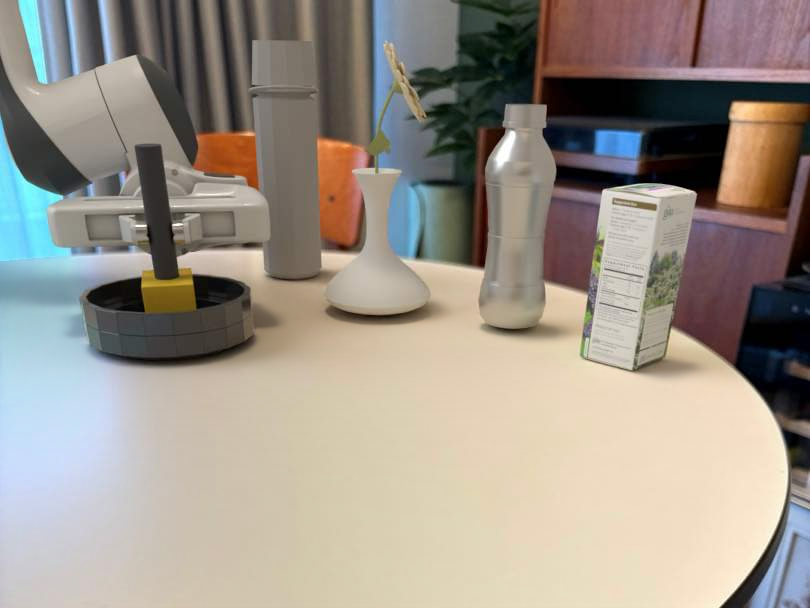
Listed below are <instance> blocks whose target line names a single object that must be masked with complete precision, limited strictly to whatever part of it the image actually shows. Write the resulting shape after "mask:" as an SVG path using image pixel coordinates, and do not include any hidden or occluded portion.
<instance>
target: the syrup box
mask: <svg viewBox="0 0 810 608" xmlns="http://www.w3.org/2000/svg"><path fill="white" fill-rule="evenodd" d="M697 196H698V193H696V191H694V190H691V189H689V188H688V189H687V188H684V187H680V186H676V185H671V184H663V183H636V184H629V185H622V186H615V187H609V188H604V189H603V190H602V191H601V196H600V197H601V198H600V205H599V210H598V211H599V213H598V219H597V225H596V226H597V227H596V234H595V242H594V246H593V249H594V250H593V254H592V263H591V271H590V276H589V277H590V278H589V284H588V291H587V299H586V300H587V301H586V307H585V313H584V320H583V327H582V335H581V342H580V349H579V356H580V357H581V358H583V359H586V360H590V361H594V362H597V363H601V364H604V365H609V366H613V367H617V368H621V369H624V370H629V371H635V370H637V369H640V368H643V367H644V366H645V367H646V366H648V365H651V364H652V363H655V362H657V361H658V362H659V361H660V360H662V359H665V358H666V356H667V352H668V346H669V342H670V338H671V337H670V336H671V332H672V327H673V322H674V321H673V320H674V316H675V310H676V306H677V301H678V296H679V291H680V290H679V289H680V285H681V280H682V276H683V275H682V274H683V269H684V264H685V259H686V253H687V247H688V244H689V238H690V233H691V228H692V221H693V218H694V217H693V216H694V212H695V207H696V206H695V205H696V201H697Z"/></svg>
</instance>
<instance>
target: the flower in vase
mask: <svg viewBox="0 0 810 608" xmlns="http://www.w3.org/2000/svg"><path fill="white" fill-rule="evenodd" d="M383 50H384V53H385V56H386V59H387V62H388V65H389V68H390V70H391V72H392V74H393V77H394V80H393V83H392V86H391V89H390V91H389V93H388V95H387V97H386V100H385V102H384V105H383V107H382V110H381V112H380V114H379V118H378V121H377V126H376V133H375V136H374V138H373V140H372V141H371V142H370V143H369V144H368V145H367V146H366V148H365V151H364V152H365V153H367V154H369V155H371V156H374V167H364V168H363V167H362V168H361V167H360V168H355V169H352V170H351V173H352V174H353V176H354V178H355V179H356V181H357V182H358V185H359V187H360V190H361V193H362V197H363V202H364V209H365V221H366V224H365V225H366V229H365V230H366V231H365V232H366V233H365V241H364V244H363V248H362V249H361V251H360V252H359V253H358V255H356V257H354V259H352V260H351V261H350V262H349V263H348V264H347V265H345V266H344V267H343V268H342V269H340V271H339V272H338V273H337V274H335V275H334V276H333V278H332V279H331V280H330V281H329V282H328V283H327V285H326V287H325V290H324V293H323V297H324V298H325V299H326V301H327V303H329V304H330V305H331V306H333V307H335V308H337V309H340V310H341V311H344V312H347V313H353V314H359V315H366V316H367V315H369V316H387V315H388V316H389V315H397V314H404V313H408V312H411V311H414V310H417V309H419V308H421V307H423V306H425V305H426V304H427V303H428V302H429V300H430V299H431V295H432V294H431V291H430V288H429V286H428V284H427V283H426V281H424V280H423V278H421V276H420V275H418V274H417V272H415V271H414V270H413V269H412V268H411V267H410V266H408V265H407V263H405V262H404V261H403V260H402V259H401V258H400V257H399V256H397V254H396V253H395V252H394V250H393V249H392V246H391V244H390V238H389V214H390V213H389V212H390V205H391V204H390V203H391V199H392V194H393V191H394V188H395V185H396V183H397V181H398V180H399V178H400V176H401V175H402V173H403V171H402V169H396V168H387V167H379V155H381V154H382V153H383V152H385V153H386V154H388V155H389V154H390V153H391V147H390V146H391V144H392V142H391V140H389V139H388V138H387V136H386V134H385V132H384V131H383V130H382V129H381V128H382V123H383V121H384V117H385V114H386V112H387V110H388V107H389V104H390V102H391V100H392V98H393V96H394V94H395V93H396V94H398V95H402V96H403V97H404V99H405V101H406V103H407V106H408V107H409V109H410V110H411V112H412V114H413V115H414V117H415V118H416V119H417V121H418V122H419V123H425V121H426V120H425V119H426V118H427V114H426V112H425V110H424V109H423V108H422V107H421V105H420V103H419V102H420V96H419V95H418V93H417V91H416V90H415V89H414V87H412V86H411V84H410V81H409V79H408V73H407V69H406V66H405V64H404V63H403V61H399V58H398V54H397V51H396V47H395V46H394V44H393V42H389V43H388V40H387V39H385V40H384V43H383ZM424 118H425V119H424Z"/></svg>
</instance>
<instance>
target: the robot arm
mask: <svg viewBox="0 0 810 608" xmlns="http://www.w3.org/2000/svg"><path fill="white" fill-rule="evenodd" d="M36 69H37V68H36V66H35V62H34V59H33V54H32V51H31V47H30V43H29V39H28V36H27V31H26V28H25V24H24V20H23V15H22V13H21V8H20V3H19V0H0V121H1V123H2V130H3V134H4V135H3V136H4V140H5V143H6V144H5V145H6V147H7V151H8V154H9V155H10V157H11V160H12V161H13V163H14V165H15V167H16V168H17V170H18V172H19V173H20V175H21V176H22V177H23V179H24V180H25V181H26V182H28V183H29V184H31V185H33V186H34V187H36V188H39V189H40V190H43V191H46V192H48V193H51V194H54V195H57V196H58V195H59V196H63V197H66V196H68V195H71V194H72V193H75V192H77V191H80V190H82V189H83V188H85V187H89V186H90V185H92V184H93V183H94V182H96V181H99V180H102V179H105V178H108V177H111V176H114V175H117V174H121V173H122V172H125V171H129V172H128V174H127V176H126V178H125V180H124V182H123V184H122V186H121V189H120V190H119V191H120V192H119V194H118V195H101V196H100V195H98V196H96V195H95V196H93V195H92V196H91V195H90V196H74V197H67V198H62V199H59V200H57V201H55V202H53V203H51V204H49V205H48V206H47V207H46V220H47V225H48V230H49V234H50V239H51V242H52V244H53V245H54V246H55V247H58V248H63V249H68V248H69V249H75V248H101V247H102V248H103V247H104V248H106V247H107V248H108V247H109V248H110V247H134V246H135V247H137V248H138V249H140V250H141V251H143V252H144V253H146V254H148V255H151V250H150V242H149V236H148V228H147V224H146V218H145V212H144V205H143V199H142V192H141V186H140V179H139V173H138V166H137V160H136V153H135V147H134V146H135V145H137V144H160V145H161V147H162V155H163V162H164V169H165V176H166V183H167V191H168V198H169V205H170V212H171V219H172V230H173V234H174V236H173V239H174V244H175V248H176V255H177V258H178V257H182V256H185V255H187V254H189V253H196V252H198V251H202V250H205V249H208V248H217V247H222V246H232V245H240V244H247V243H263V242H265V241H268V240H269V239H270V217H269V207H268V203H267V200H266V199H265V197H264V196H263V195H262V194H261V193H260V192H259V189H256V188H255V187H253V186H249V184H248V179H247V178H246V177H245V176H243V175H234V174H227V173H215V172H208V171H207V172H205V171H200V170H196V169H195V168H194V166H195V163H196V160H197V157H198V152H199V149H200V147H199V142H198V138H197V134H196V131H195V128H194V125H193V122H192V119H191V116H190V113H189V111H188V109H187V106H186V104H185V101H184V100H183V99H184V98H183V97H182V96H181V94H180V91H179V90H178V88H177V86H176V84H175V83H174V81H173V79H172V78H171V76H170V74H169V73H168V72H167V70H165V69H164V68H163V67H162V66H161V65H159V64H158V63H156V62H155V61H153V60H152V59H150V58H148V57H146V56H144V55H141V54H139V53H136V54H134V55H130V56H127V57H123V58H121V59H118V60H114V61H111V62H108V63H104V64H103V65H100V66H99V65H98V66H96V67H94V68H93V69H90V70H86V71H84V72H81V73H78V74H74V75H72V76H69V77H66V78H63V79H59V80H57V81H53V82H51V83H43V82H41V81H39V77H38V74H37V70H36Z"/></svg>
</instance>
